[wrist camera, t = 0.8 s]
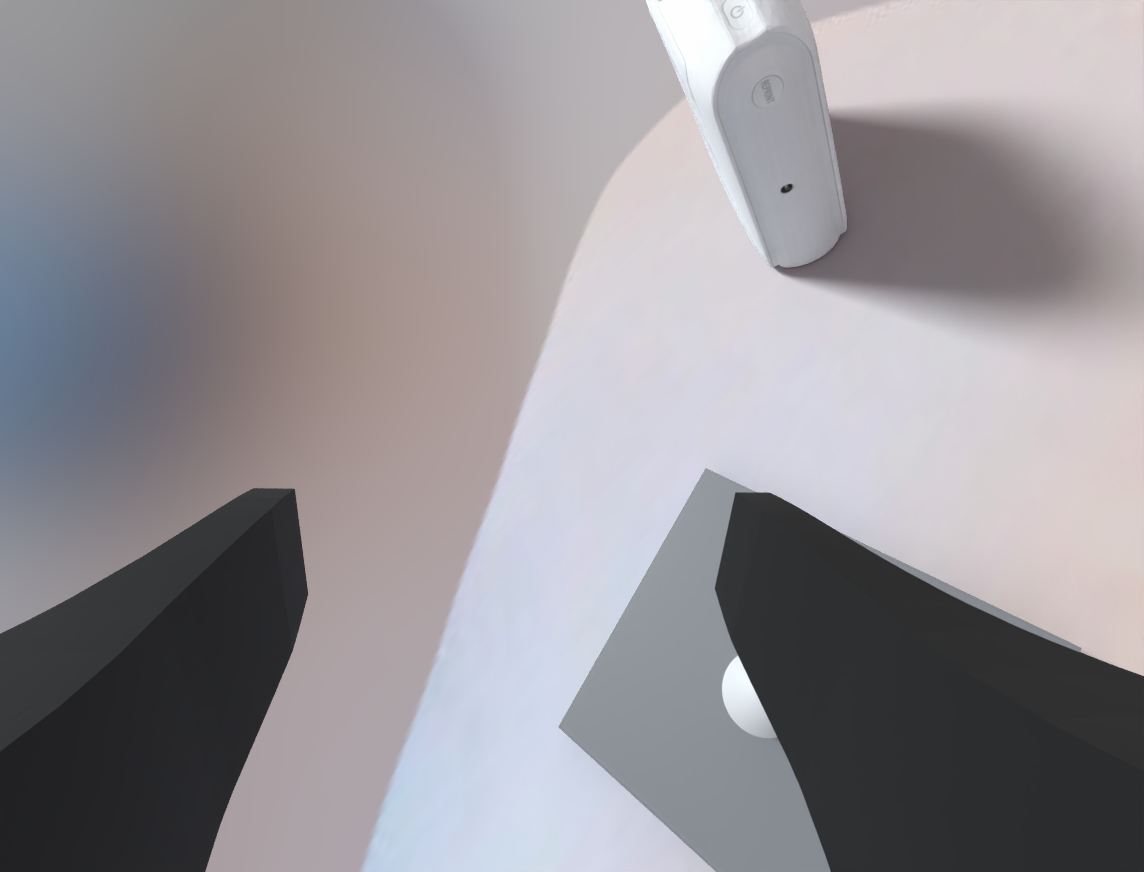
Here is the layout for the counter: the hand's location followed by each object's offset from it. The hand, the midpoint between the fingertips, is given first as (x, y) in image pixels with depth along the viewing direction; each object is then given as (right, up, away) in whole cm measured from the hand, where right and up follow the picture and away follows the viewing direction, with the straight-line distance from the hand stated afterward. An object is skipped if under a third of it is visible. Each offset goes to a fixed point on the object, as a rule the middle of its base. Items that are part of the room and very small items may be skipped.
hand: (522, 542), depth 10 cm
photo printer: (+11, +14, +20) cm, 27 cm away
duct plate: (+8, -7, +12) cm, 17 cm away
